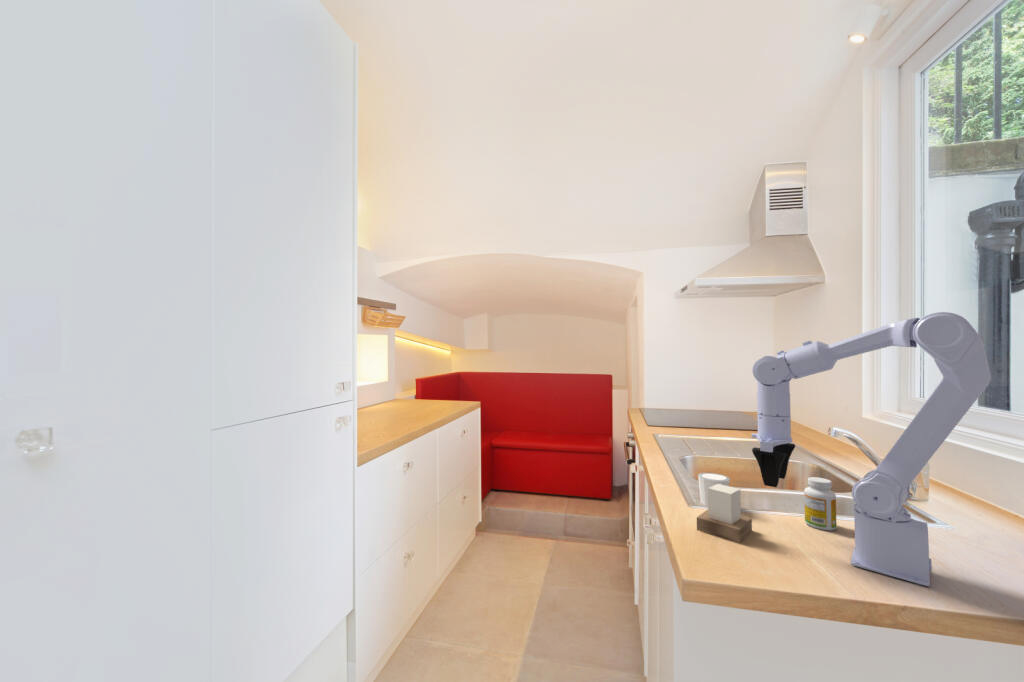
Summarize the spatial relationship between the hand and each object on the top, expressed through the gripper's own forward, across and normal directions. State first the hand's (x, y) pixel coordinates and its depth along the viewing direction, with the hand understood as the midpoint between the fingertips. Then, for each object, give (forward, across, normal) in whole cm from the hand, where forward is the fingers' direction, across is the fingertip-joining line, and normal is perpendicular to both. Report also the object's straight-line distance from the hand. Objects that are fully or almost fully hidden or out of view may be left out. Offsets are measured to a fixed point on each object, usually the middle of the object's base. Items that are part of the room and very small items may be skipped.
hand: (774, 481), depth 82 cm
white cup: (+11, -7, -14) cm, 19 cm away
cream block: (+8, +6, -8) cm, 13 cm away
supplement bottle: (+11, -11, +6) cm, 17 cm away
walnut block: (+11, +6, -8) cm, 15 cm away
